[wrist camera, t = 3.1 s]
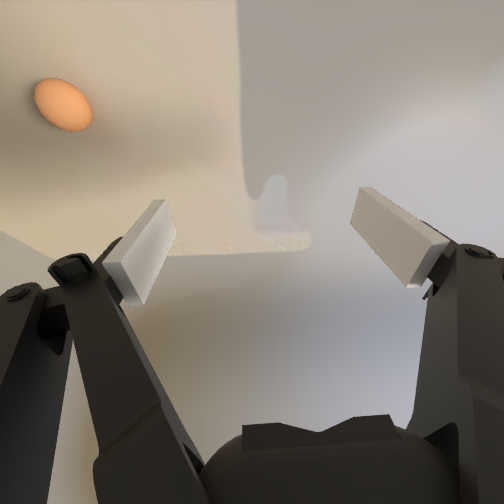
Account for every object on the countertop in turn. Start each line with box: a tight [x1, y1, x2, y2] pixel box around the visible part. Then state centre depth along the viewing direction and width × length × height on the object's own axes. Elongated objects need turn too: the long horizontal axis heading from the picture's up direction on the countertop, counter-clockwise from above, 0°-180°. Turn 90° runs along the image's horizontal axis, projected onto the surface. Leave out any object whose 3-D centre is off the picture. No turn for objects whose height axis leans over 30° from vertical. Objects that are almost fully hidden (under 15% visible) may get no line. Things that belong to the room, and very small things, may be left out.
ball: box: [34, 79, 92, 131], centre depth 24 cm, size 5×5×5 cm
